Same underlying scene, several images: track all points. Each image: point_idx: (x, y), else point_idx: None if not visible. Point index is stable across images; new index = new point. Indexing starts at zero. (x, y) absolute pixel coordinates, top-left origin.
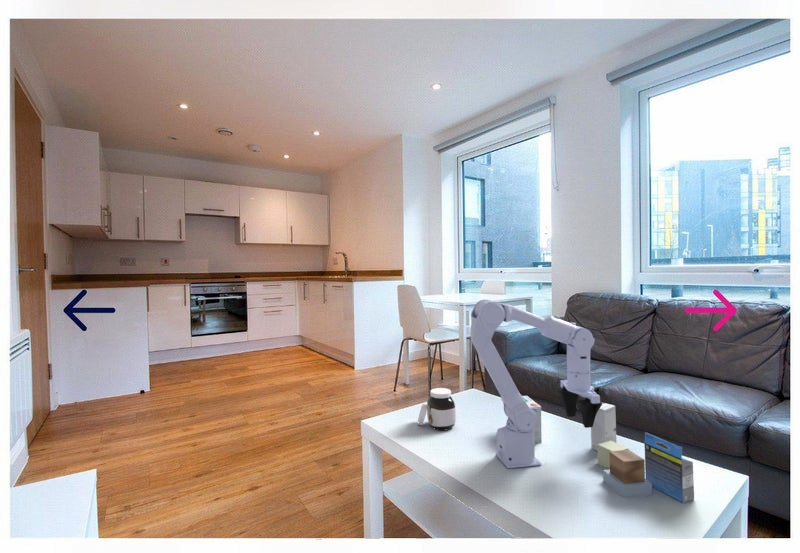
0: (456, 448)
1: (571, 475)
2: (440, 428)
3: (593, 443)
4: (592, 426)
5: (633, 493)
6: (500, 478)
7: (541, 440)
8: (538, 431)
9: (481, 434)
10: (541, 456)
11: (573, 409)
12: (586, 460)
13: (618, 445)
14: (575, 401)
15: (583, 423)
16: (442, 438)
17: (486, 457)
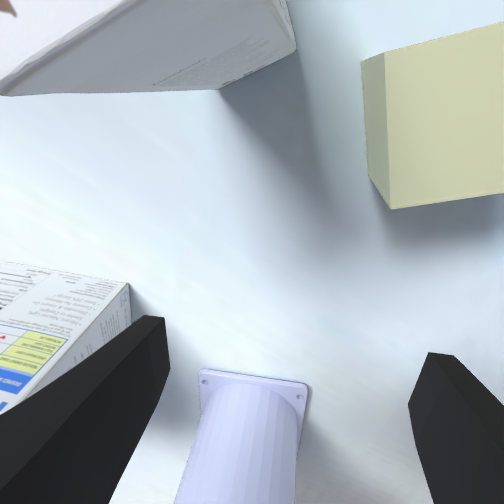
0: (153, 487)
1: (407, 343)
2: None
3: (219, 83)
4: (458, 363)
5: None
6: (333, 488)
7: (124, 288)
8: (102, 326)
9: None
10: (243, 346)
11: (130, 383)
12: (327, 211)
13: (489, 55)
14: (54, 458)
15: (420, 442)
16: None
17: None
